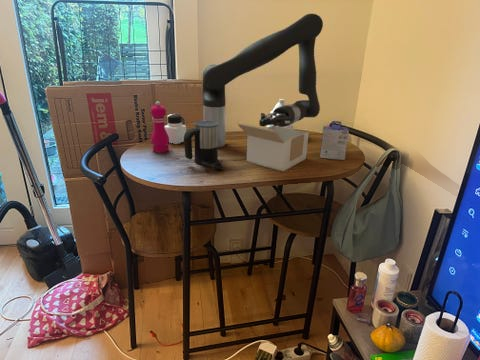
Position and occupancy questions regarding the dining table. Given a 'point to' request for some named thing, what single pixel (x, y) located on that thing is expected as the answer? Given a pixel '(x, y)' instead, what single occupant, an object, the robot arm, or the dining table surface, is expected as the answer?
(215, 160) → the milk frother
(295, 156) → the carton
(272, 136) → the front flap
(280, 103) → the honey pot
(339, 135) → the ink cartridge box
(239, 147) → the dining table surface
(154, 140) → the pepper mill
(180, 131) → the medicine bottle
